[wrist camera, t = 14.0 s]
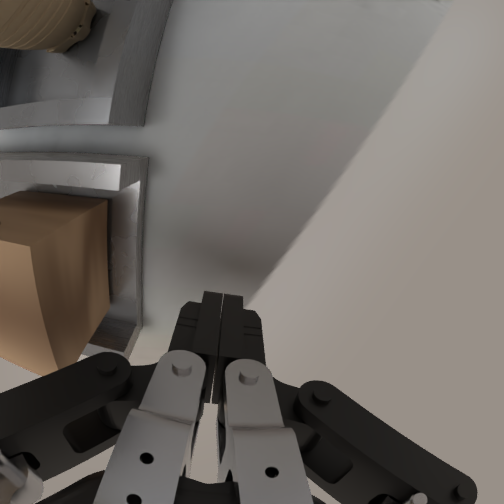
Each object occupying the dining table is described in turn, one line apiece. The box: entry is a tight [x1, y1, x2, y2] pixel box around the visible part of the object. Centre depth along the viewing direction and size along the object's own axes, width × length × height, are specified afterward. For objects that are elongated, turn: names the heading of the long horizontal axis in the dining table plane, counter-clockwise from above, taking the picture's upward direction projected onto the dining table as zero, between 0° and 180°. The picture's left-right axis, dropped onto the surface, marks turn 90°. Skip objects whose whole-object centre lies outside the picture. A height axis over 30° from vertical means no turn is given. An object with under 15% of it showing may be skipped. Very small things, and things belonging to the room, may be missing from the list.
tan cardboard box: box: [0, 191, 110, 376], centre depth 10 cm, size 6×6×6 cm
